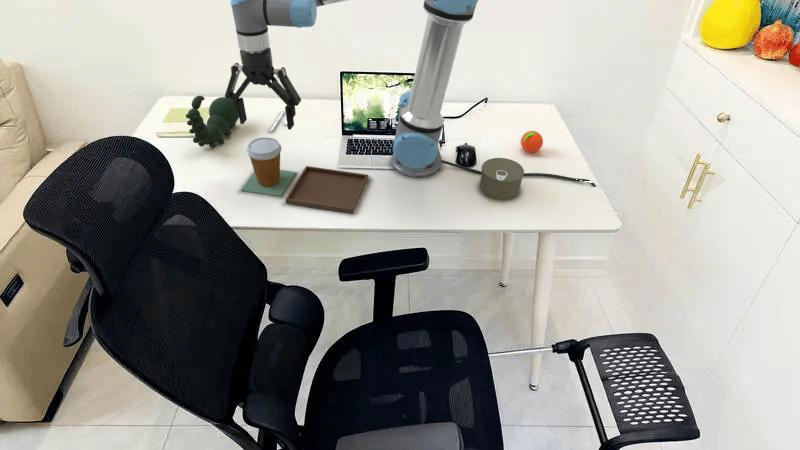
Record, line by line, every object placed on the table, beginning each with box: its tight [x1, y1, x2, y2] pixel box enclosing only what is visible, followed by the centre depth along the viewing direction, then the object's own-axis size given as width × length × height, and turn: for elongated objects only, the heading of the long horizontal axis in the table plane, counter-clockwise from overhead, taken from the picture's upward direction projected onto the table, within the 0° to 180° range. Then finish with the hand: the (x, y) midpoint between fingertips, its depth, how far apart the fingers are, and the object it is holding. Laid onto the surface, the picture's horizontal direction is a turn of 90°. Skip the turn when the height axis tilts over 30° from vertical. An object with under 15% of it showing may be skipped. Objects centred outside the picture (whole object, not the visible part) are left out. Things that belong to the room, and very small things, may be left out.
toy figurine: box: [185, 95, 239, 149], centre depth 170 cm, size 9×19×25 cm
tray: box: [285, 165, 369, 215], centre depth 154 cm, size 19×17×2 cm
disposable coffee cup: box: [246, 136, 282, 187], centre depth 153 cm, size 10×10×12 cm
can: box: [479, 157, 525, 201], centre depth 155 cm, size 12×12×7 cm
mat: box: [240, 169, 297, 198], centre depth 157 cm, size 12×12×1 cm
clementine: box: [520, 130, 544, 154], centre depth 172 cm, size 8×7×7 cm
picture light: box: [270, 110, 287, 132], centre depth 183 cm, size 14×4×2 cm, turn 173°
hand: (267, 124), depth 147 cm, fingers open, 13 cm apart
